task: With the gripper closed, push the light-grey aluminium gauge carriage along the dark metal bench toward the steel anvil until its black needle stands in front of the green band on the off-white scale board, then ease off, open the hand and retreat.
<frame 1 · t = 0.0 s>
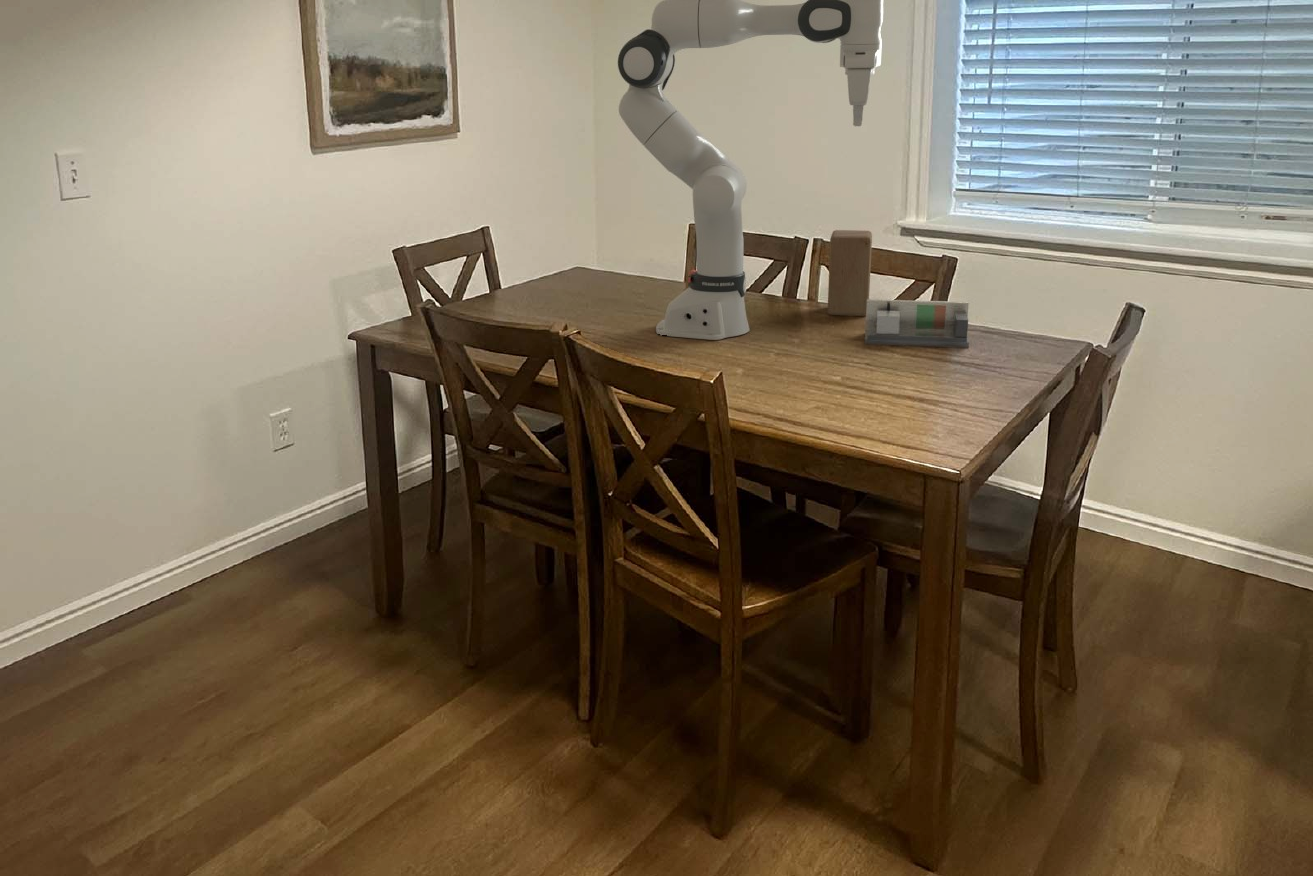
hand: (857, 124, 249), 48 cm above the table, fingers open, 8 cm apart
wooden block: (848, 312, 286), on the table
gauge carriage: (888, 320, 258), point 5 cm above the table, slide at 0.0 cm
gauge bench: (915, 339, 260), on the table
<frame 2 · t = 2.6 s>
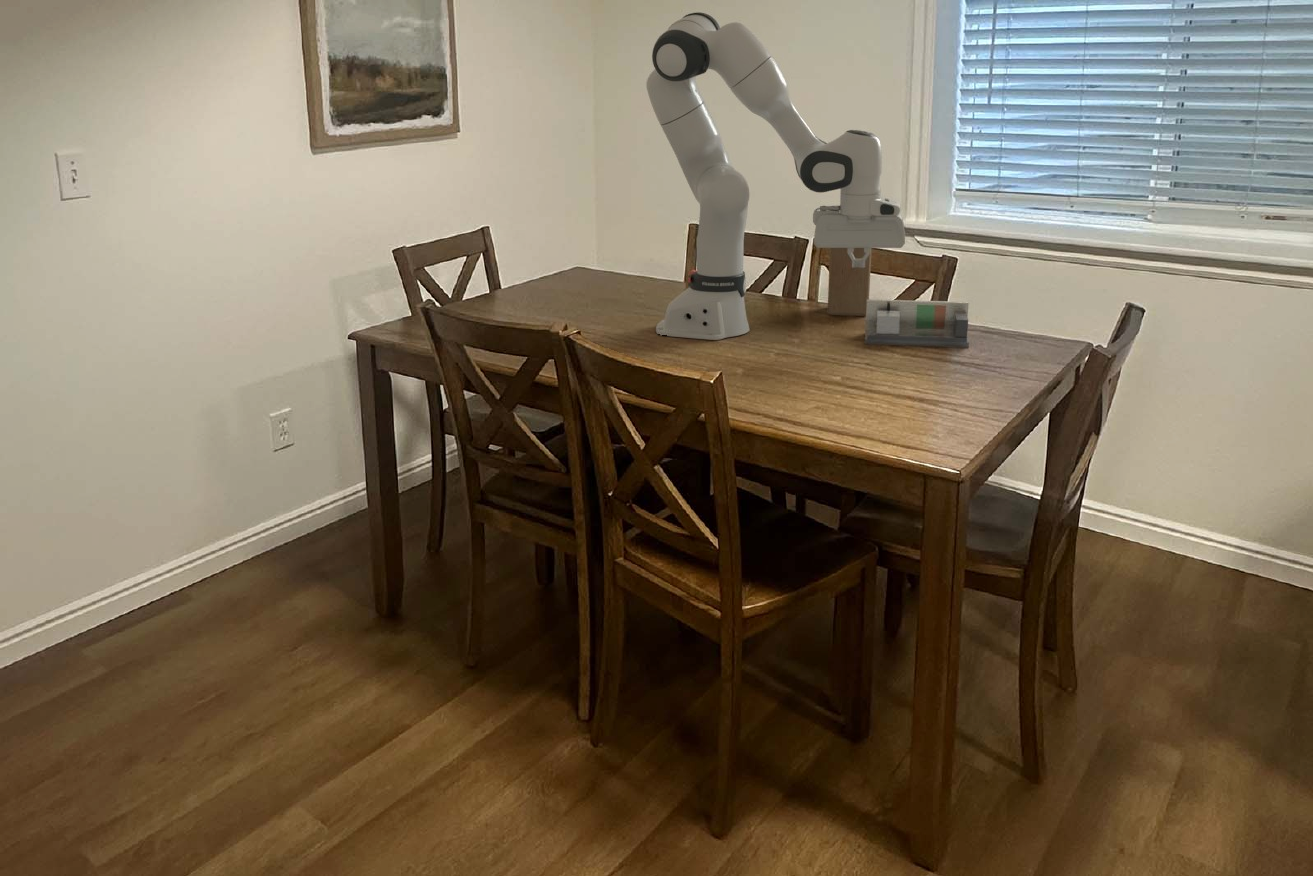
hand: (858, 267, 255), 17 cm above the table, fingers closed
nothing on the table moved.
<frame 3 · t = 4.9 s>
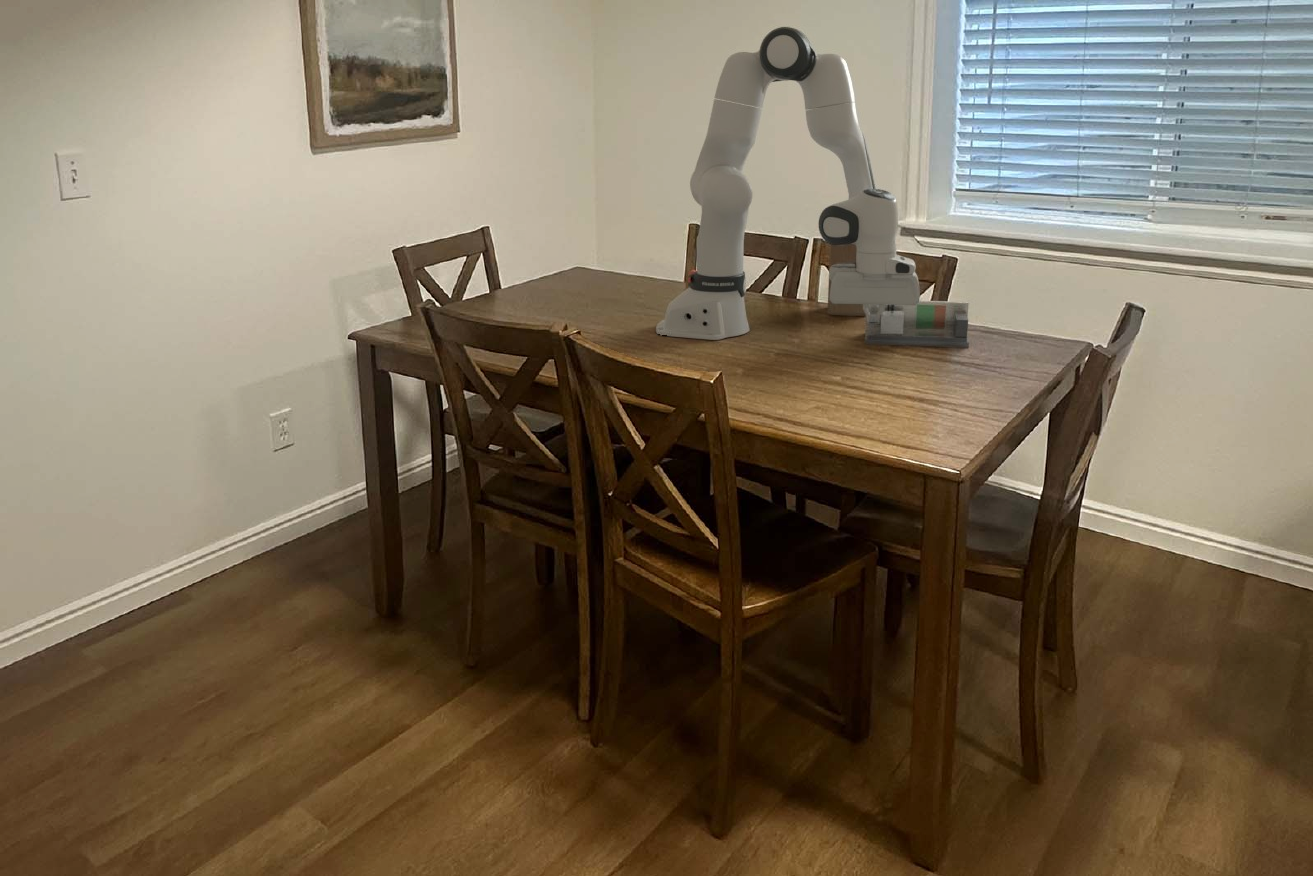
hand: (873, 322, 258), 4 cm above the table, fingers closed
gauge carriage: (892, 320, 258), point 5 cm above the table, slide at 0.9 cm, touching gripper
everything else where it was.
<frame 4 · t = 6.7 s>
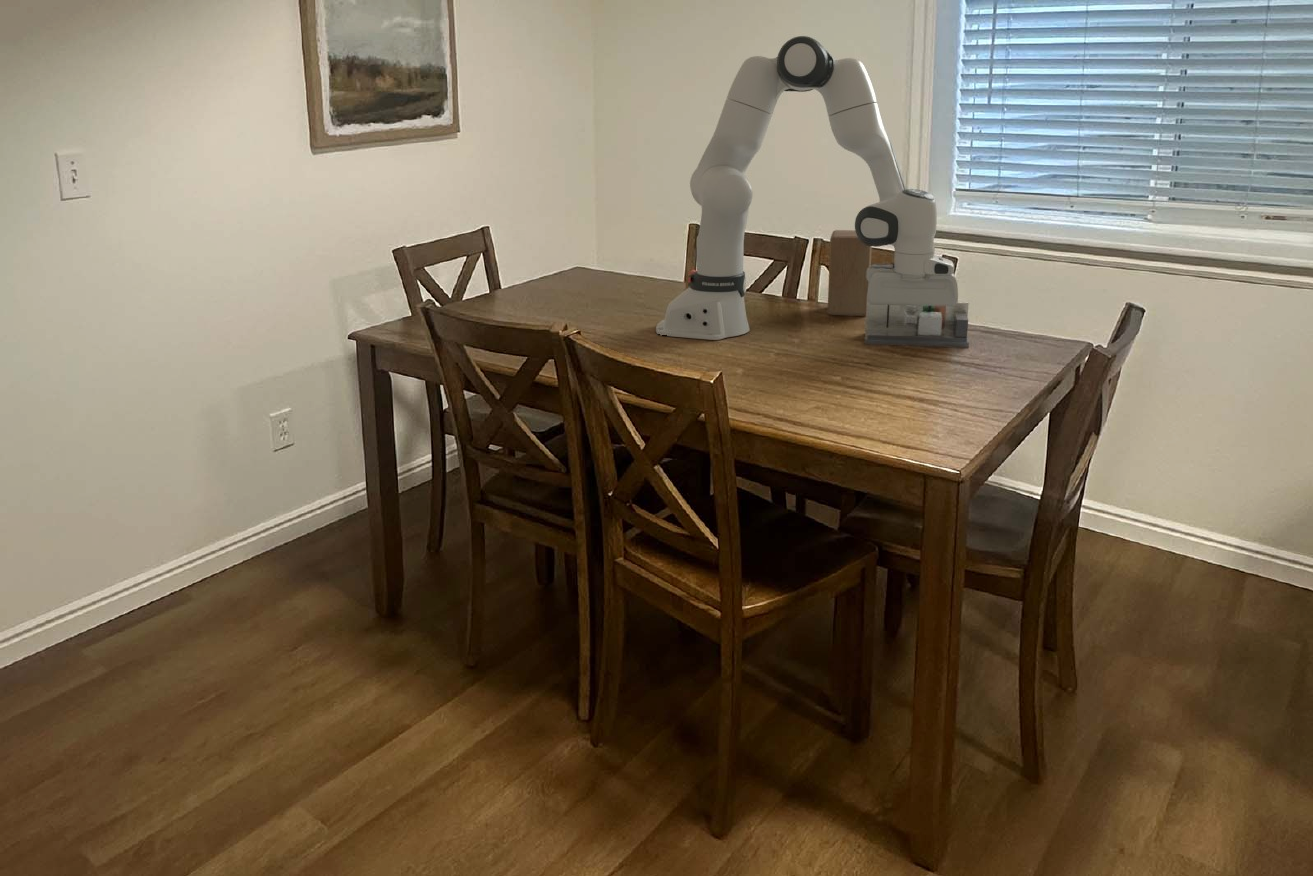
hand: (910, 323, 257), 4 cm above the table, fingers closed
gauge carriage: (929, 321, 257), point 5 cm above the table, slide at 9.3 cm, touching gripper
everything else where it was.
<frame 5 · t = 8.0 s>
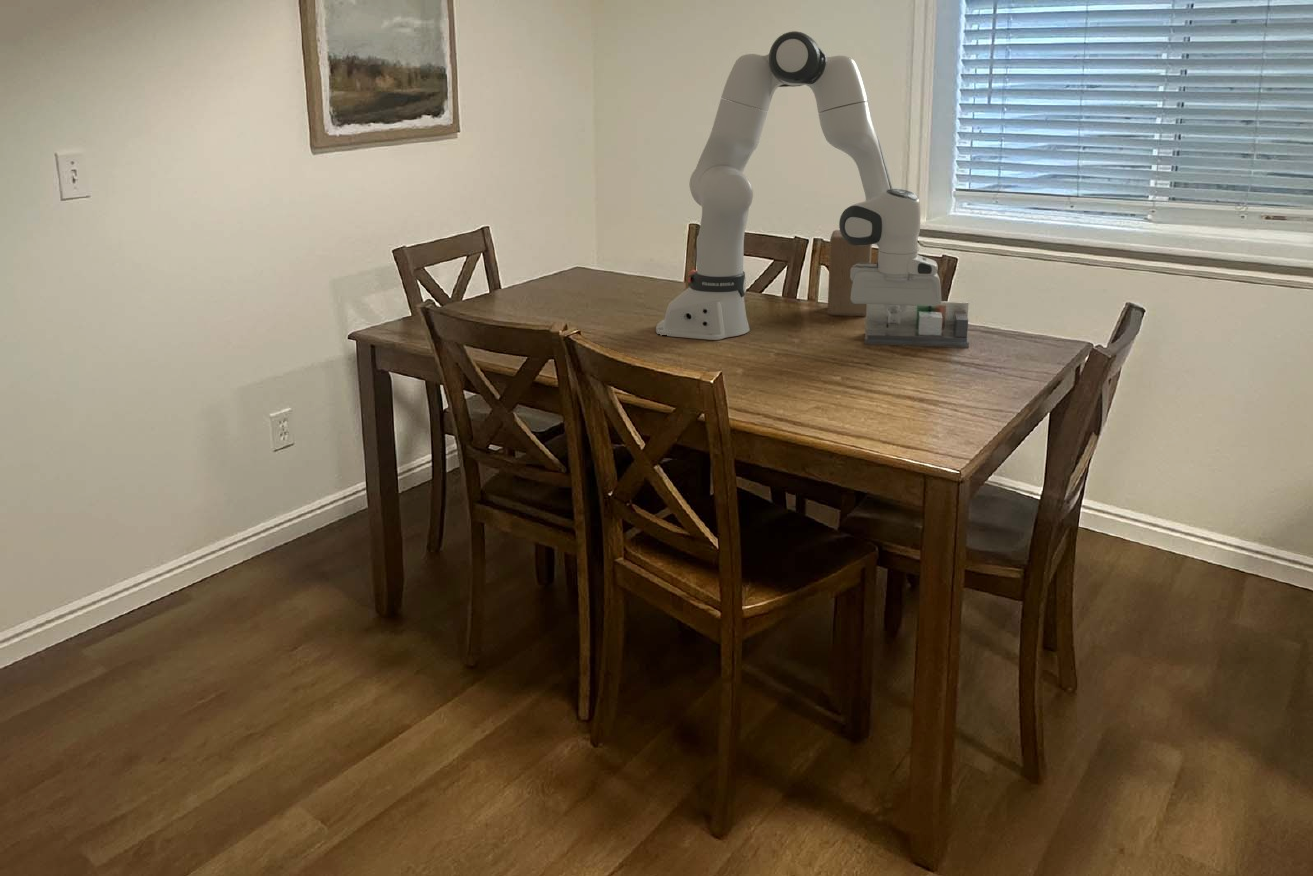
hand: (893, 323, 257), 4 cm above the table, fingers closed
gauge carriage: (929, 321, 257), point 5 cm above the table, slide at 9.4 cm
everything else where it was.
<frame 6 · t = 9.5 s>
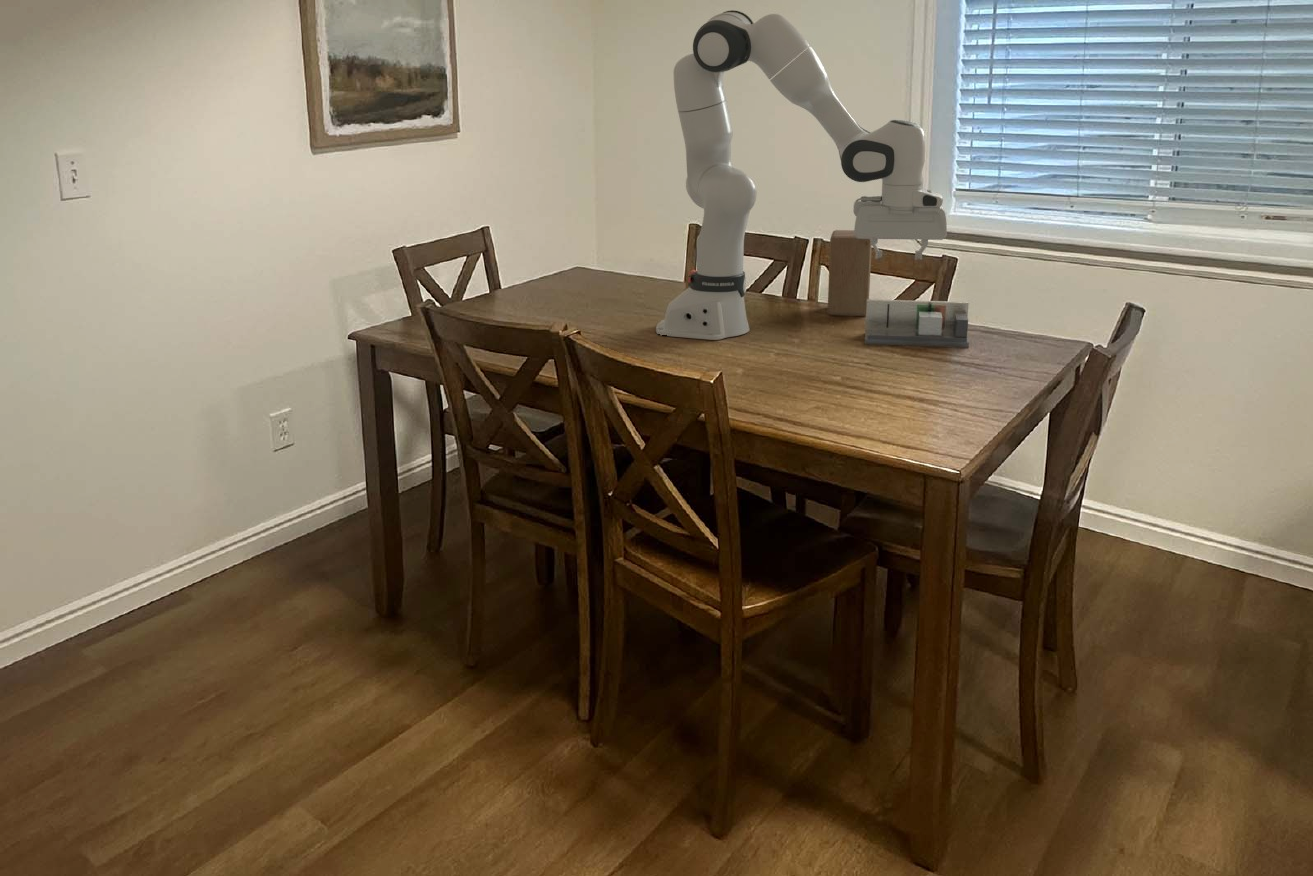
hand: (898, 258, 252), 19 cm above the table, fingers open, 7 cm apart
nothing on the table moved.
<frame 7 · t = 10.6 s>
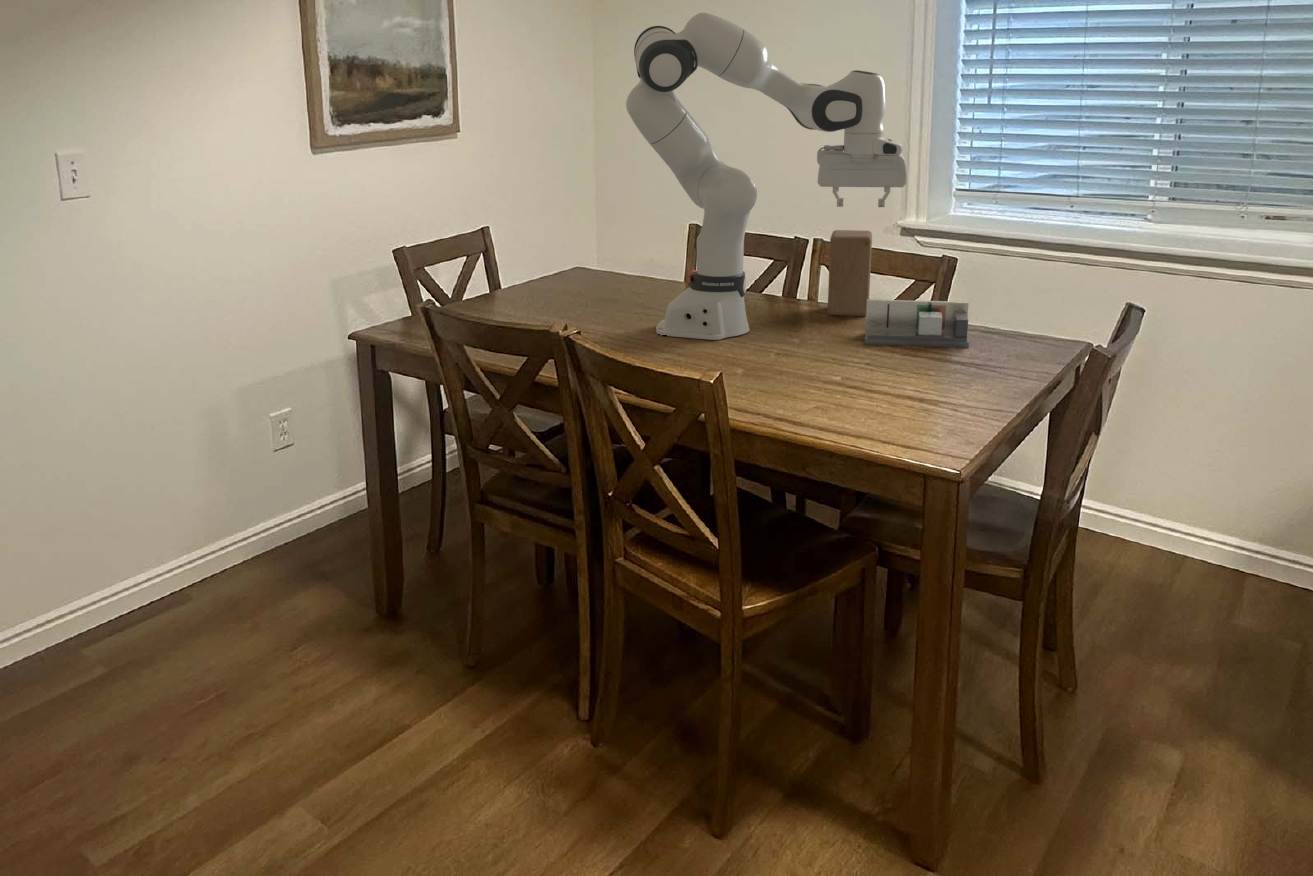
hand: (860, 206, 261), 29 cm above the table, fingers open, 8 cm apart
nothing on the table moved.
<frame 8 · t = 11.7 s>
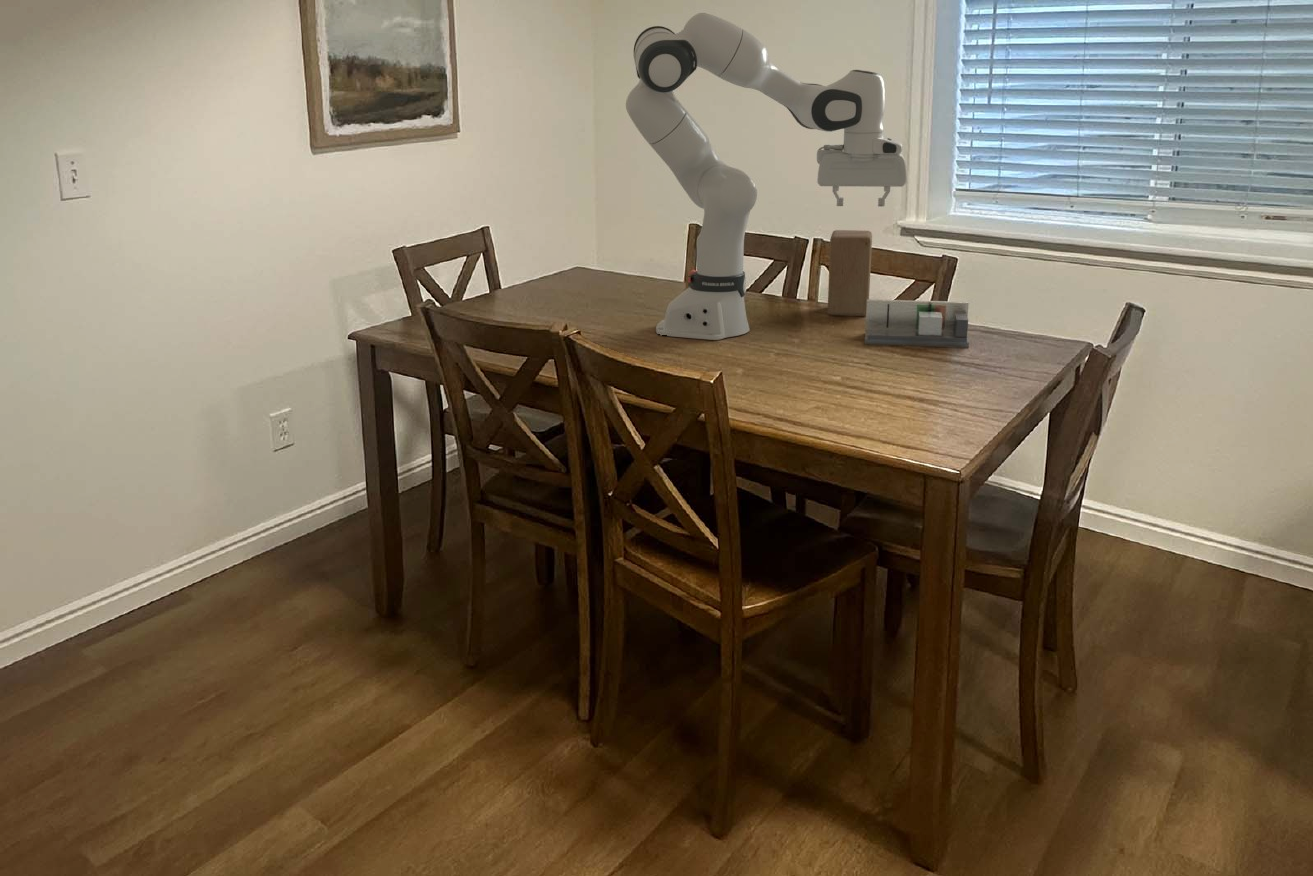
hand: (860, 205, 261), 29 cm above the table, fingers open, 8 cm apart
nothing on the table moved.
at the end: gauge carriage slide at 9.4 cm; gauge carriage touching nothing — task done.
